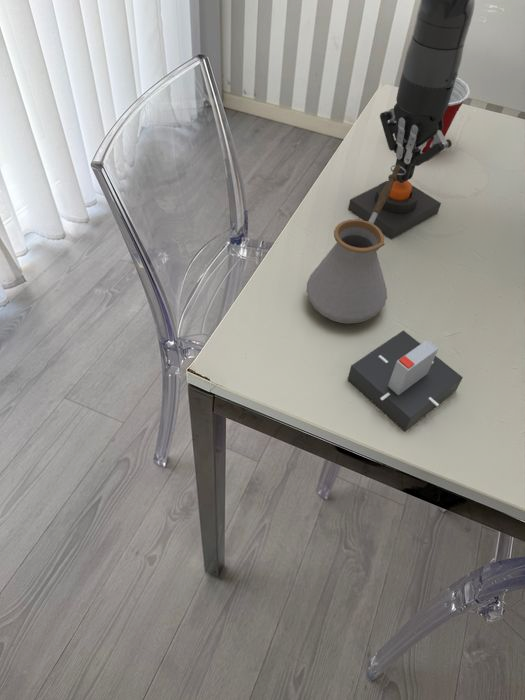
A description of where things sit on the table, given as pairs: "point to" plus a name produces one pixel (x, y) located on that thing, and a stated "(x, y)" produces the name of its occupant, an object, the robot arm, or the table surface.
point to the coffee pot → (352, 269)
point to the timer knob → (412, 367)
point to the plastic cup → (452, 107)
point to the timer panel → (415, 400)
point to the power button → (400, 190)
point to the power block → (395, 210)
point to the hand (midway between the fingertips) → (401, 179)
